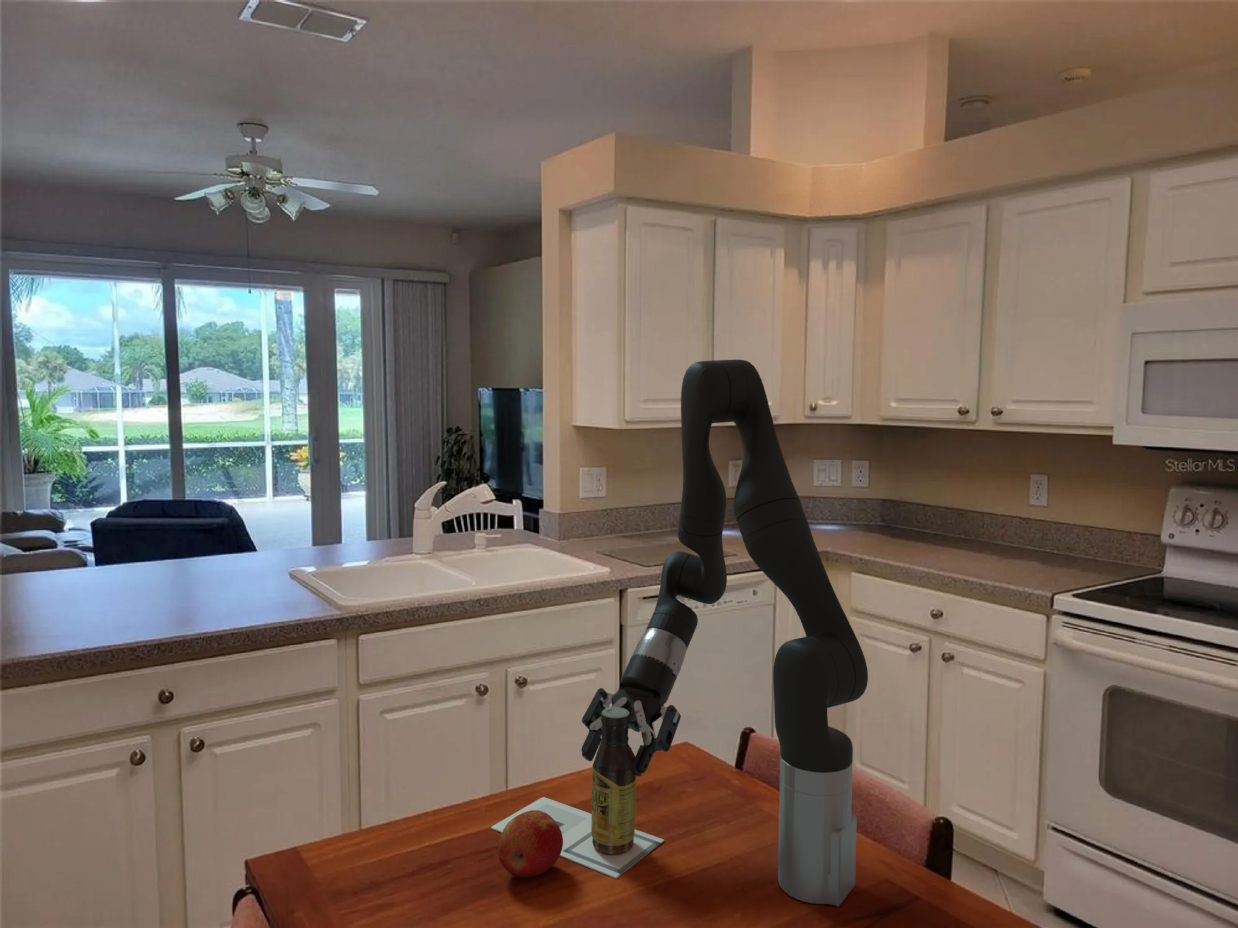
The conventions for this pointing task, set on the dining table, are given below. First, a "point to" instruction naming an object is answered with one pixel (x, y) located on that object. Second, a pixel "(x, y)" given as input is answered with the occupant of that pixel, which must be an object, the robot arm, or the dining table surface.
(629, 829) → the sauce bottle
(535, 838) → the apple
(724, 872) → the dining table surface
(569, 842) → the mat
